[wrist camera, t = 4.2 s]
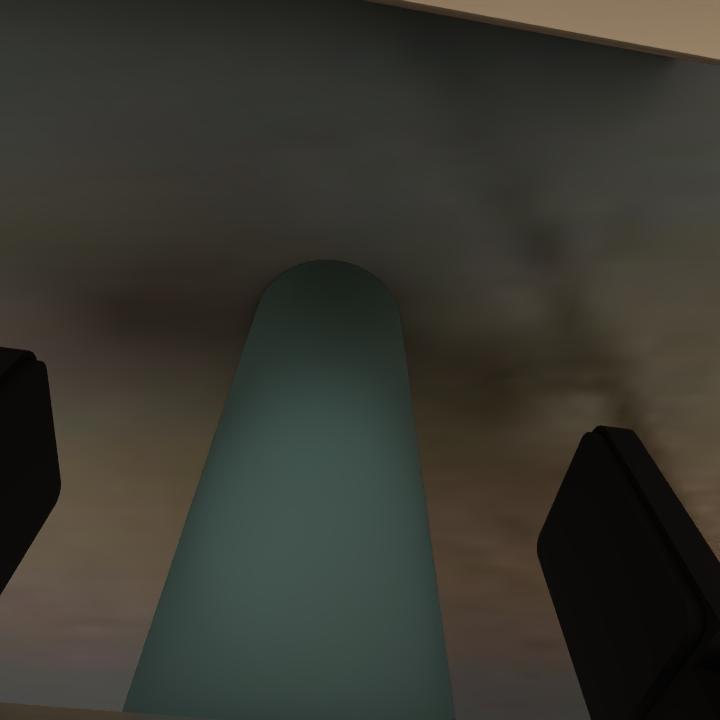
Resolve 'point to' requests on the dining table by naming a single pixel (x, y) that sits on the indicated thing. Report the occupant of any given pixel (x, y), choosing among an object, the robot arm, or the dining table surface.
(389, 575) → the peg
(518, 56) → the dining table surface
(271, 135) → the dining table surface
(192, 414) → the dining table surface
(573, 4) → the box
